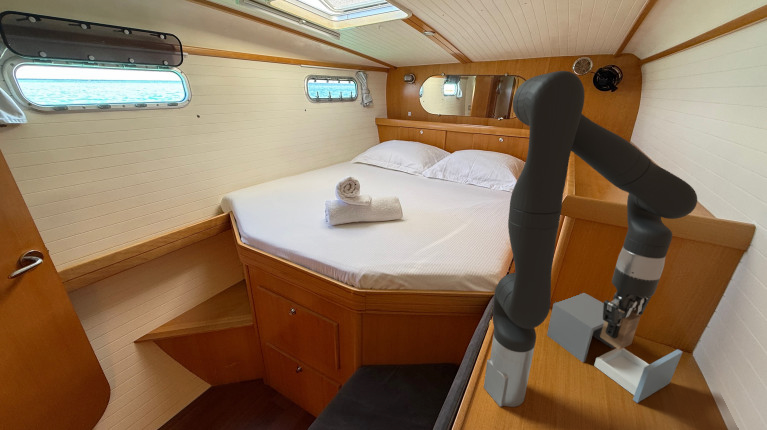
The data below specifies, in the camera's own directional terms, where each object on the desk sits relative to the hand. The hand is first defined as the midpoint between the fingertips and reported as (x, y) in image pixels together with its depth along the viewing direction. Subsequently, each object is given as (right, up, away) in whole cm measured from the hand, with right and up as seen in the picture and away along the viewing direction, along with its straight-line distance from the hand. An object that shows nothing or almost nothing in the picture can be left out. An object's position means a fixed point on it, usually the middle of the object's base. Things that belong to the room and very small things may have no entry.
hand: (617, 332), depth 70 cm
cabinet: (+6, -12, +23) cm, 27 cm away
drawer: (+11, -16, +11) cm, 22 cm away
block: (0, -2, +1) cm, 2 cm away
